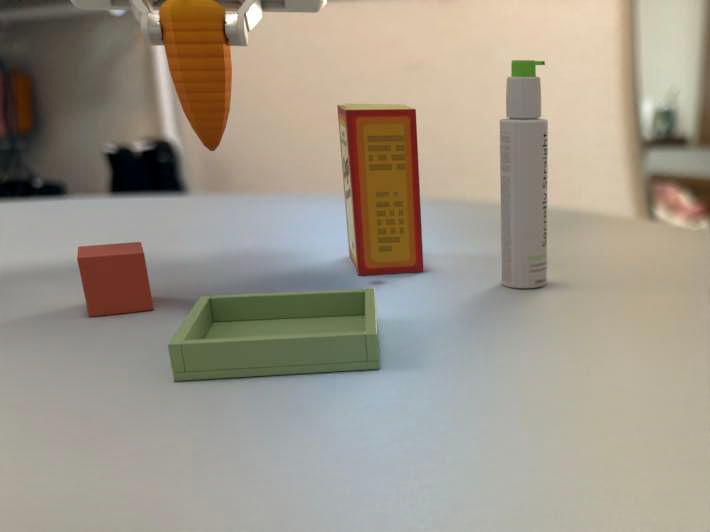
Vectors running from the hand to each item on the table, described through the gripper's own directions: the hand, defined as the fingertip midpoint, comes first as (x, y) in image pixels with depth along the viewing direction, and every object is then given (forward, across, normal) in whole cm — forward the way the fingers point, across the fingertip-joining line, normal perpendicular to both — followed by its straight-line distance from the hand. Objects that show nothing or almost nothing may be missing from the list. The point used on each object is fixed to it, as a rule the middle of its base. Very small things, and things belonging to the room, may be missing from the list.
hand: (196, 39), depth 66 cm
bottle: (+13, +26, +18) cm, 34 cm away
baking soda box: (+5, +14, +26) cm, 29 cm away
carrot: (+6, 0, +6) cm, 9 cm away
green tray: (+24, +6, +6) cm, 25 cm away
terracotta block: (+14, -10, +16) cm, 23 cm away
